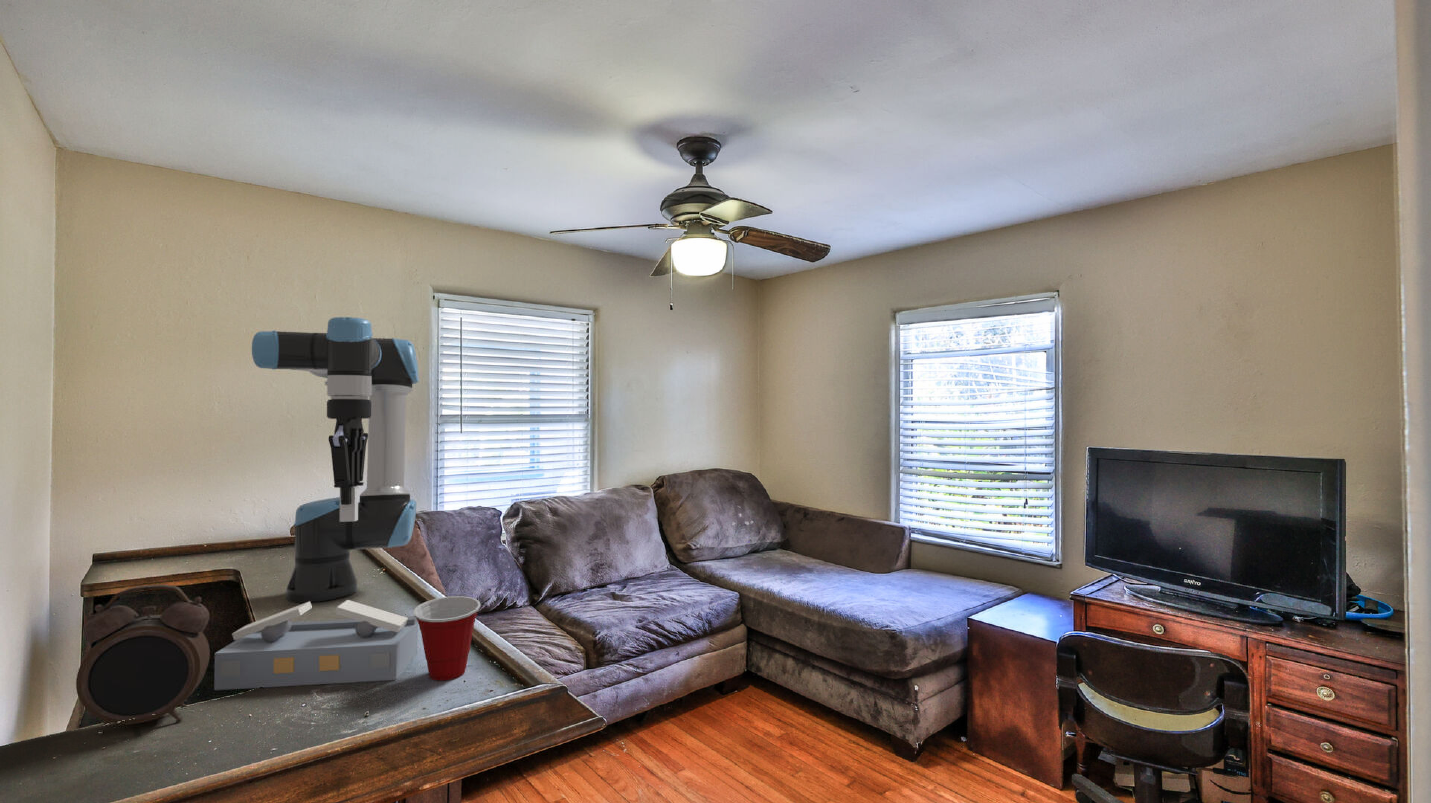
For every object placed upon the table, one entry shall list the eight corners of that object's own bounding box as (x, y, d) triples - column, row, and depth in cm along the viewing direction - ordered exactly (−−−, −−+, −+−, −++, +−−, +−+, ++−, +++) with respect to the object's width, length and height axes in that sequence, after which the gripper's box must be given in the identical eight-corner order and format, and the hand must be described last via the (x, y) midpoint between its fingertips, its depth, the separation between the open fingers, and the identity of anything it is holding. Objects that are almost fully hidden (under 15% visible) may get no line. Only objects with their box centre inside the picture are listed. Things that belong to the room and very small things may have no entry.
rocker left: (254, 644, 116) (246, 625, 116) (317, 620, 117) (309, 601, 117) (239, 653, 111) (231, 633, 111) (305, 628, 113) (298, 608, 113)
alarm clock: (69, 746, 89) (70, 599, 90) (90, 723, 96) (91, 586, 96) (201, 723, 96) (202, 586, 96) (213, 703, 102) (214, 575, 103)
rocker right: (339, 619, 118) (347, 599, 118) (400, 637, 119) (408, 617, 120) (329, 627, 114) (337, 607, 114) (392, 646, 115) (400, 625, 115)
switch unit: (254, 661, 119) (254, 623, 119) (417, 653, 123) (417, 616, 123) (213, 690, 107) (213, 647, 107) (395, 680, 111) (395, 638, 111)
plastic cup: (407, 691, 107) (407, 617, 107) (418, 665, 118) (419, 598, 118) (477, 683, 110) (477, 611, 110) (483, 659, 120) (483, 594, 120)
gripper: (342, 398, 133) (342, 515, 132) (312, 397, 120) (312, 527, 119) (382, 398, 134) (381, 514, 133) (357, 397, 121) (356, 526, 120)
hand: (348, 520), depth 126 cm, fingers closed
